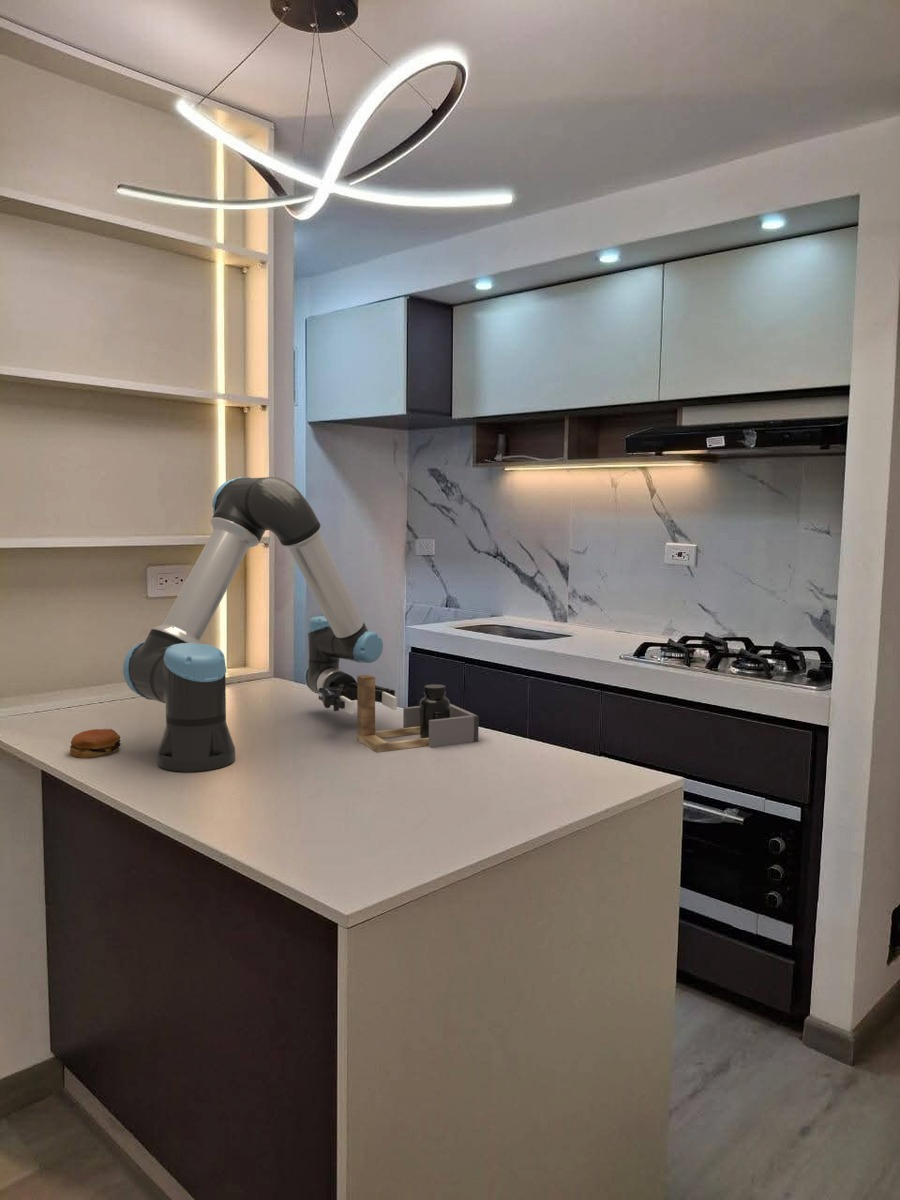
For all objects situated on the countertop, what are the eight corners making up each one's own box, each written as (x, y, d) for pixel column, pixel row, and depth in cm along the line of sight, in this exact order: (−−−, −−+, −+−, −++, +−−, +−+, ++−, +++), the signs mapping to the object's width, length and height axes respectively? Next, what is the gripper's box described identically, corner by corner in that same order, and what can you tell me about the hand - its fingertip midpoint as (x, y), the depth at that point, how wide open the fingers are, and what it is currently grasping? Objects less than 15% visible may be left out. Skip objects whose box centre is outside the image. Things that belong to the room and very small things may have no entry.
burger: (63, 759, 181) (62, 736, 180) (80, 747, 190) (80, 725, 190) (112, 759, 181) (112, 737, 181) (127, 747, 190) (126, 726, 190)
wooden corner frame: (443, 729, 207) (444, 668, 205) (465, 740, 197) (466, 676, 196) (357, 739, 197) (357, 675, 195) (376, 752, 187) (376, 684, 186)
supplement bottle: (451, 735, 203) (452, 683, 202) (448, 743, 196) (448, 689, 195) (421, 734, 203) (422, 682, 202) (417, 741, 197) (418, 688, 195)
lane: (448, 727, 209) (448, 702, 209) (478, 742, 197) (478, 715, 196) (403, 733, 204) (403, 707, 203) (431, 748, 191) (431, 721, 191)
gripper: (380, 698, 217) (419, 717, 197) (292, 706, 207) (325, 728, 187) (380, 667, 216) (420, 684, 196) (292, 674, 206) (325, 693, 186)
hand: (373, 705), depth 191 cm, fingers open, 9 cm apart
